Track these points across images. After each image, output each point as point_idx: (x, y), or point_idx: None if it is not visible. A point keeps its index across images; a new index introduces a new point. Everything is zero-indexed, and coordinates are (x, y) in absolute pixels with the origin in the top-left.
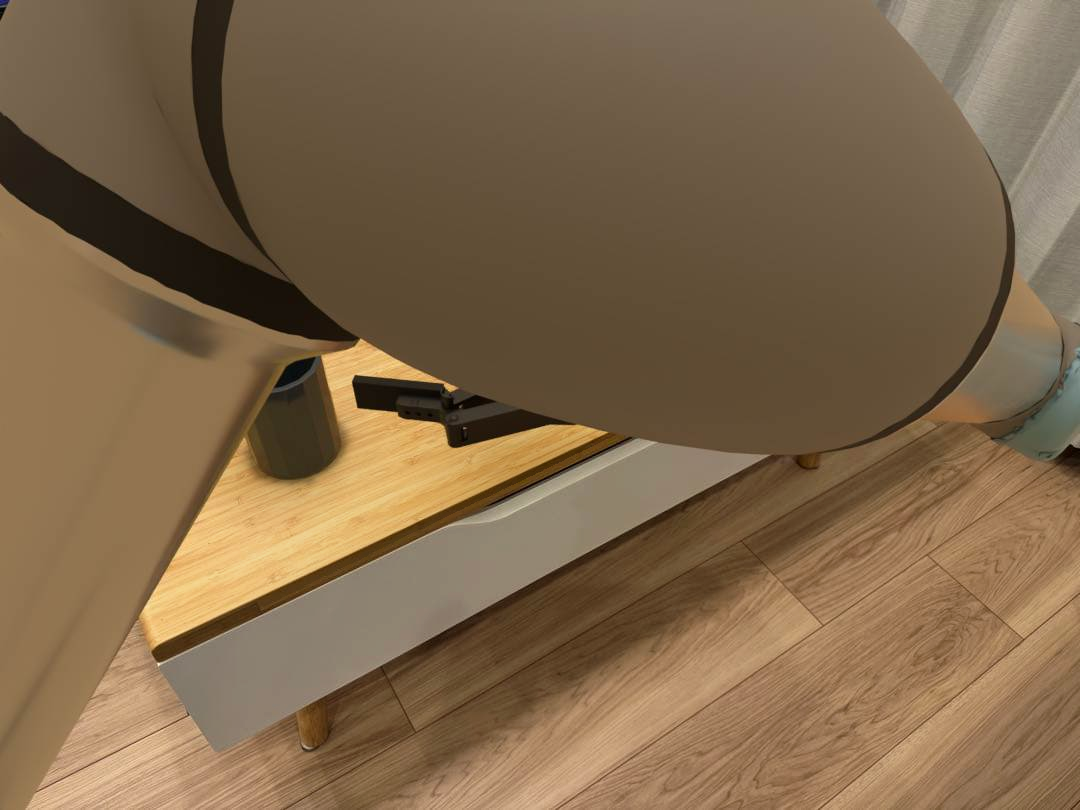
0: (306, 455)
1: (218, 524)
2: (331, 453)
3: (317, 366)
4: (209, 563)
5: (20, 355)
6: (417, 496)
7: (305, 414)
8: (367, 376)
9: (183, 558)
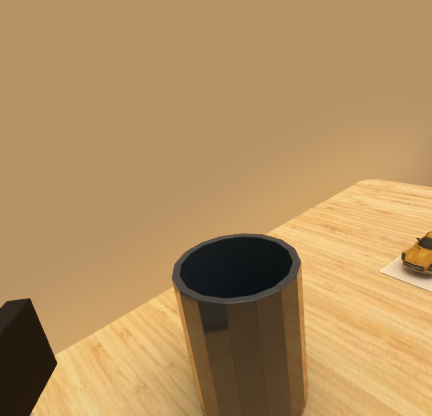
0: (204, 394)
1: (139, 363)
2: None
3: (235, 303)
4: (94, 376)
5: None
6: None
7: (201, 346)
8: (10, 318)
9: (103, 355)
